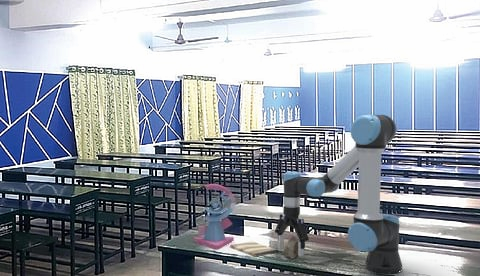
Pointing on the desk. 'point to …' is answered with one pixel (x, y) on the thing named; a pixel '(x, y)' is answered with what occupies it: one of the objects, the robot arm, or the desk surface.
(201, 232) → the trophy
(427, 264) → the desk surface
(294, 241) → the rock
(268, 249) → the board
